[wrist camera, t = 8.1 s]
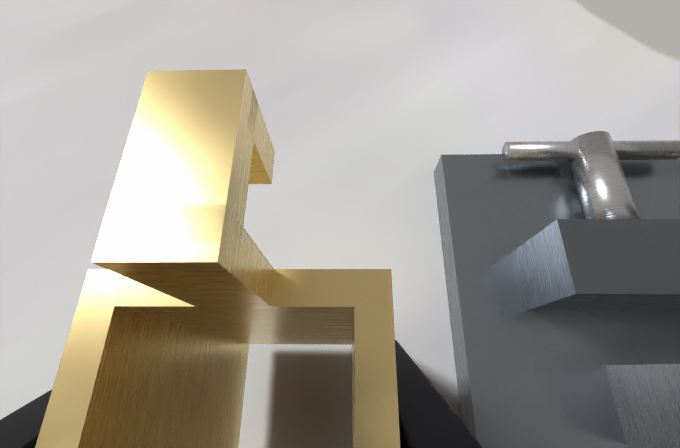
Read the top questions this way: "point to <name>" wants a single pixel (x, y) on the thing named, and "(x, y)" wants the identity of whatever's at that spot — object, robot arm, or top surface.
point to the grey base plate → (565, 291)
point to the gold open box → (203, 288)
